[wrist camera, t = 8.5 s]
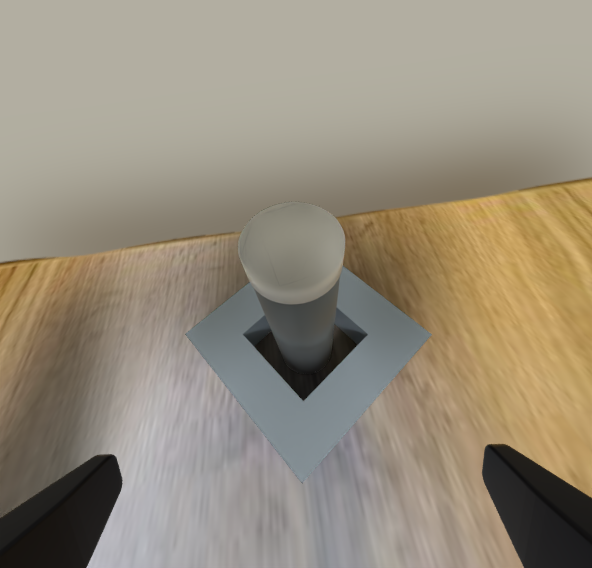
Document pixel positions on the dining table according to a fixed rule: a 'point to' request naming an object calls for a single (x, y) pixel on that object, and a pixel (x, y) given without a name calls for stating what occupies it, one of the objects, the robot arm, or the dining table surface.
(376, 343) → the socket
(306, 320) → the peg
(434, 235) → the dining table surface
